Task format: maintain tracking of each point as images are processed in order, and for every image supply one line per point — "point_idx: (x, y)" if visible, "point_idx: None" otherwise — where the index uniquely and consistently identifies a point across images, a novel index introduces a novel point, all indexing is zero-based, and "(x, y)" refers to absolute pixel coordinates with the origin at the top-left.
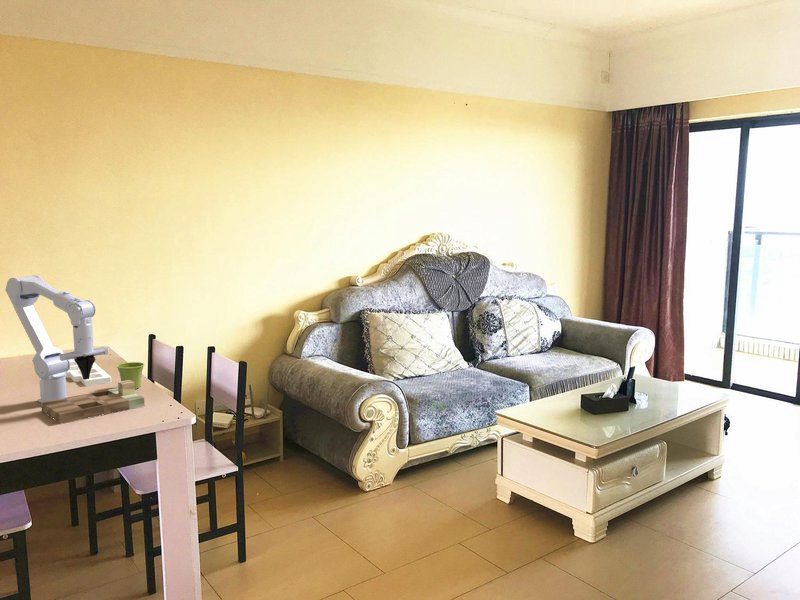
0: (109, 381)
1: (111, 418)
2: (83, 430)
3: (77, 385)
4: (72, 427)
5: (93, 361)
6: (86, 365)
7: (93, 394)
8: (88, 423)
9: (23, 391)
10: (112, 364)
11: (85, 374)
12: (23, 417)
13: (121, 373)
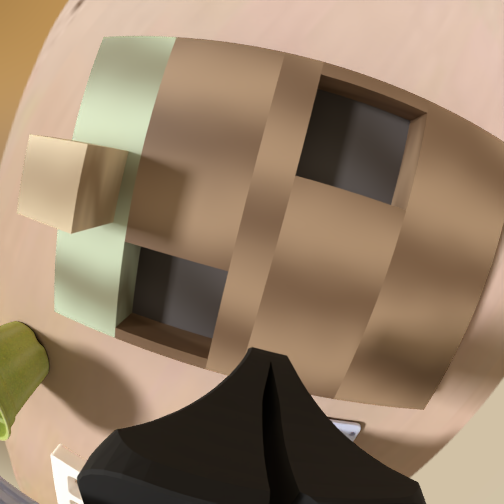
0: (61, 448)
1: (330, 13)
2: (468, 14)
3: None
4: (482, 72)
5: (153, 433)
6: (287, 437)
7: (193, 350)
8: (427, 48)
9: None
10: (36, 500)
11: (289, 376)
12: (480, 362)
13: (13, 393)
